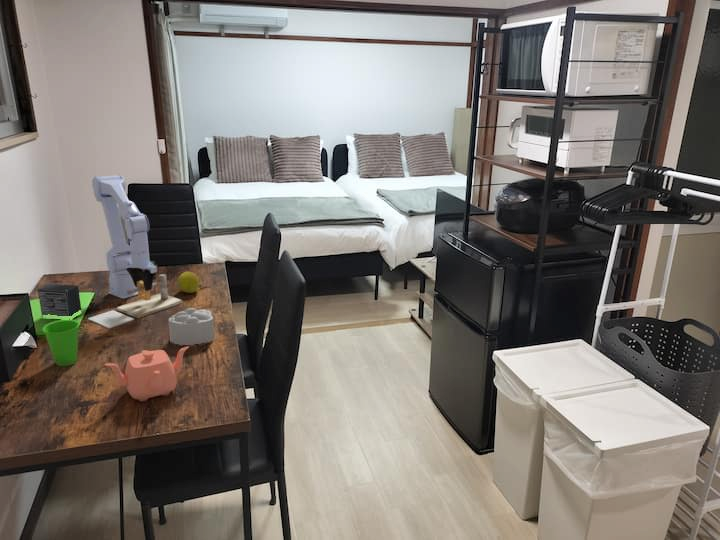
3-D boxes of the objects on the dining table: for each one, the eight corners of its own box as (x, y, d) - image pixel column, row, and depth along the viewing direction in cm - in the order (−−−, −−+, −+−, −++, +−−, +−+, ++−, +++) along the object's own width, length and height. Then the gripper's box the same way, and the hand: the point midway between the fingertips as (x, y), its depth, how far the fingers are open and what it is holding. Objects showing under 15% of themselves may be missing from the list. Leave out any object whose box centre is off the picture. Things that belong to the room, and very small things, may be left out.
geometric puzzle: (156, 266, 222) (144, 254, 216) (165, 269, 218) (154, 257, 212) (144, 279, 218) (132, 267, 213) (154, 283, 215) (142, 271, 209)
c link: (138, 297, 184) (136, 281, 182) (142, 296, 185) (140, 280, 183) (146, 300, 181) (145, 284, 179) (150, 299, 182) (149, 283, 181)
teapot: (192, 381, 139) (189, 343, 135) (162, 410, 125) (158, 370, 122) (143, 373, 141) (139, 337, 138) (108, 402, 128) (103, 362, 124)
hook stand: (117, 309, 182) (113, 282, 179) (161, 295, 196) (159, 270, 193) (138, 318, 175) (135, 290, 172) (182, 302, 190) (180, 276, 187)
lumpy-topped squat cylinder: (215, 342, 161) (214, 316, 158) (171, 348, 156) (168, 321, 153) (211, 328, 170) (210, 304, 167) (169, 334, 165) (167, 308, 162)
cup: (47, 372, 140) (41, 335, 137) (48, 358, 148) (42, 322, 144) (85, 366, 144) (79, 329, 141) (84, 352, 152) (79, 317, 148)
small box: (83, 313, 178) (79, 284, 175) (71, 321, 172) (67, 291, 168) (54, 311, 179) (49, 282, 175) (41, 319, 172) (36, 289, 169)
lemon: (199, 296, 197) (198, 276, 194) (177, 297, 195) (176, 277, 192) (200, 286, 207) (199, 267, 204) (179, 287, 205) (178, 268, 202)
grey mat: (87, 319, 173) (87, 318, 173) (113, 311, 180) (112, 310, 180) (109, 328, 167) (108, 327, 167) (134, 319, 174) (134, 318, 174)
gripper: (116, 249, 178) (120, 286, 182) (142, 257, 171) (146, 296, 175) (134, 245, 184) (138, 281, 188) (160, 252, 176) (164, 290, 181)
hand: (143, 288), depth 182 cm, fingers closed on c link, 5 cm apart
